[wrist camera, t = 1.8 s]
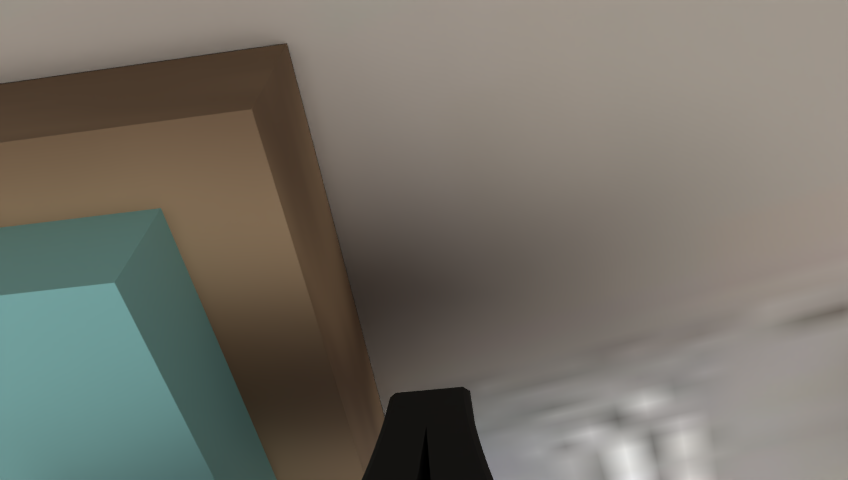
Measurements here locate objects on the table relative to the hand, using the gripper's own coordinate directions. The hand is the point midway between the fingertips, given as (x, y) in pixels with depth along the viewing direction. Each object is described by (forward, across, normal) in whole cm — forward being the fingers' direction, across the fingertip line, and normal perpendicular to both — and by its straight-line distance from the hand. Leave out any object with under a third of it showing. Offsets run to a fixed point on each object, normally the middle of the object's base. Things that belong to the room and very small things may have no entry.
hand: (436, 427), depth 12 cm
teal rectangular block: (+1, +7, 0) cm, 7 cm away
